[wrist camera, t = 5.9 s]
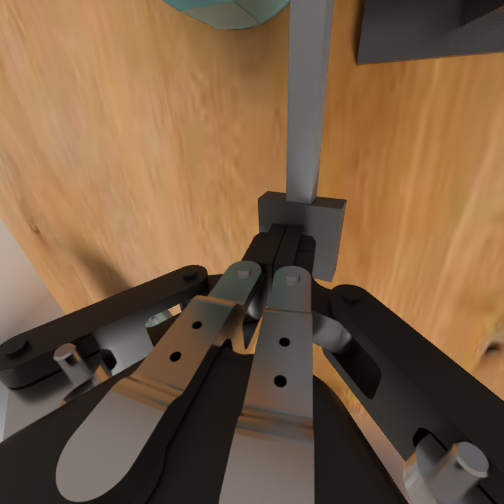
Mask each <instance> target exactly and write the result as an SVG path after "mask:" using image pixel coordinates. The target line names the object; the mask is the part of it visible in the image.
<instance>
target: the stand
mask: <svg viewBox="0 0 504 504" xmlns="http://www.w3.org/2000/svg"><path fill="white" fill-rule="evenodd" d="M503 52H504V0H365V4H364V11H363V19H362V26H361V33H360V41H359V48H358V56H357V63H356V65H364V64H376V63H387V62H399V61H410V60H422V59H433V58H445V57H456V56H468V55H479V54H491V53H503Z"/></svg>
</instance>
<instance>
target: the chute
mask: <svg viewBox="0 0 504 504" xmlns="http://www.w3.org/2000/svg"><path fill="white" fill-rule="evenodd" d="M333 2H334V0H290V26H289V78H288V129H287V181H286V193H280V192H271V191H267V192H266V193H265V194H263V195H262V196H261V197H260V198H258V214H259V233H260V232H268V231H269V229H270V227H271V225H272V223H276V224H287V225H288V224H291V225H303V233H302V235H307V236H313V238H314V239H315V241H316V250H315V261H314V270H313V278H316V279H320V280H324V281H328V282H331V281H332V279H333V276H334V273H335V271H336V266H337V259H338V253H339V246H340V240H341V233H342V227H343V220H344V214H345V207H346V201H347V200H344V199H335V198H325V197H317V186H318V175H319V163H320V152H321V140H322V129H323V117H324V106H325V94H326V83H327V71H328V60H329V48H330V37H331V25H332V14H333Z"/></svg>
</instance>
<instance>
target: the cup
mask: <svg viewBox="0 0 504 504" xmlns="http://www.w3.org/2000/svg"><path fill="white" fill-rule="evenodd" d="M163 1H164V2H166V3H167V4H169V5H171V6H172V7H174V8H175V9H177V10H179V11H181V12H183V13H185V14H187V15H189V16H191V17H193V18H195V19H197V20H199V21H201V22H204V23H206V24H208V25H210V26H212V27H214V28H216V29H218V30H219V29H230V30H244V29H249V28H253V27H256V26H258V25H261V24H263V23H265V22H267V21H268V20H270V19H272V18H273V17H275V16H276V15H277V14H278V13H280V12H281V11H282V10H283V9H285V7H286V6H287V5H288V4H289V3H290V0H163Z"/></svg>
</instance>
